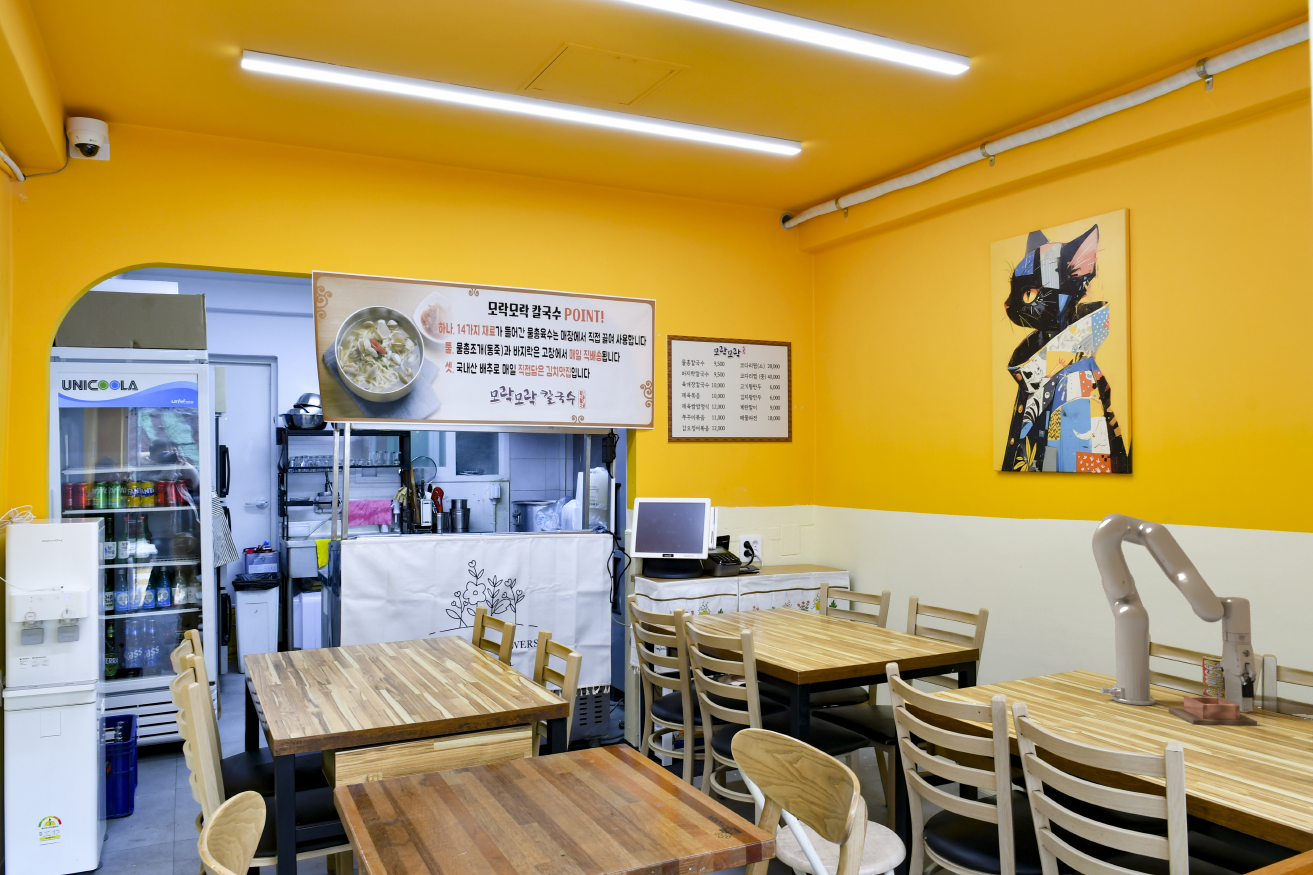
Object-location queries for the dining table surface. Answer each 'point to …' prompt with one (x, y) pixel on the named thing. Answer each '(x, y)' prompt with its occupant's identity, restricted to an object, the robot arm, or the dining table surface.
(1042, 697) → the dining table surface
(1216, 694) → the beverage can
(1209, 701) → the caddy
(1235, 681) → the skincare box
